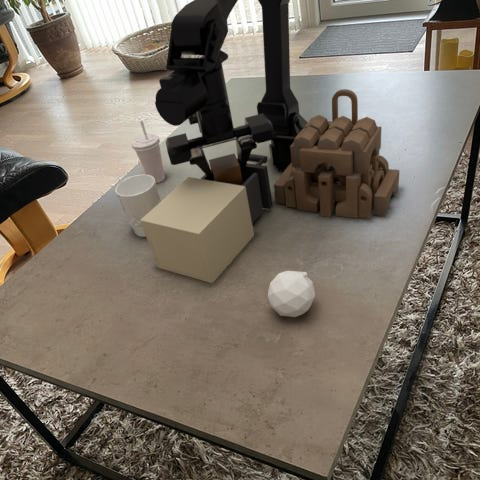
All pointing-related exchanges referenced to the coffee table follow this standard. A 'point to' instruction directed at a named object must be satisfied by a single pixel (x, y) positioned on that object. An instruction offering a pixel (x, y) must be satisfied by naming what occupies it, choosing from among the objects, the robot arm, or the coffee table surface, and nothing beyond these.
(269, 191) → the drawer
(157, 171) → the smoothie
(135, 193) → the white cup
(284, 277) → the ornament
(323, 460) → the coffee table surface
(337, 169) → the wooden puzzle
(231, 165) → the block
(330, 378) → the coffee table surface
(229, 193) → the cabinet
